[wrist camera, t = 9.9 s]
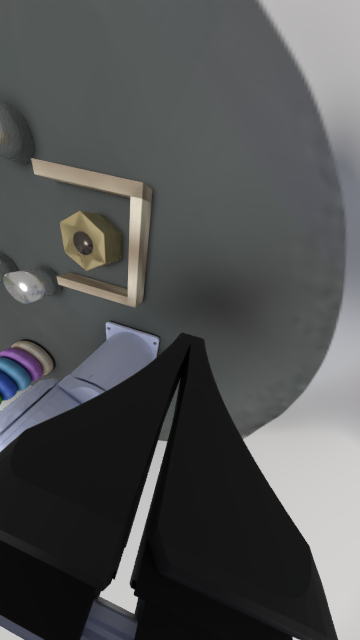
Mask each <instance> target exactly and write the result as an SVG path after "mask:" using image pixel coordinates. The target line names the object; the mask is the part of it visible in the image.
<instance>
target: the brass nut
mask: <svg viewBox="0 0 360 640" xmlns="http://www.w3.org/2000/svg"><path fill="white" fill-rule="evenodd" d="M60 226H61V232H62V238H63V244H64V249H65V253H67V254H68V255H69V256H70V257H71V258H72V259H73V260H75V261H76V262H77V263H78V264H79V265H80V266H81V267H83V268H84V269H85V270H86V271H87V270H91V269H95V268H99V267H102V266H106V265H108V264H111V263H114V262H116V261H119V260H122V234H121V233H120V232H119V231H118V230H117V229H116V228H115V227H114V226H113V225H112V224H111V223H110V222H109V221H108V220H107V219H106V218H105V217H104V216H103V215H100V214H94V213H88V212H83V211H79V212H77V213H75V214H74V215H72V216H70V217H68V218H67V219H65V220H63V221H61V222H60Z"/></svg>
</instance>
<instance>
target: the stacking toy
mask: <svg viewBox="0 0 360 640" xmlns="http://www.w3.org/2000/svg"><path fill="white" fill-rule="evenodd" d="M52 369H53V361H52V359H51V357H50V356H49V354H48V353H47V352H46V351H45V350H44V349H42V348H41V347H40V346H38V345H36V344H34V343H32V342H28V341H19V342H16V343H15V344H13V345H12V347H11V348H8V349H5V350H3V351H2V352H1V353H0V404H1V402H2V401H3V400H8V399H10V398H12V397H13V396H14V395H15V394H16V393H17V391H22V390H24V389H26V388H27V387H28V386H29V385H30V383H31V382H34V381H36V380H38V379H39V378H40V377H41V376H42V375H46V374H48V373H49V372H50V371H51V370H52Z"/></svg>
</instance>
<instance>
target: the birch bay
mask: <svg viewBox="0 0 360 640" xmlns="http://www.w3.org/2000/svg"><path fill="white" fill-rule="evenodd" d="M31 160H32V165H33V169H34V174H36V175H39V176H42V177H45V178H48V179H51V180H54V181H58V182H62V183H66V184H71V185H75V186H79V187H83V188H88V189H92V190H96V191H101V192H105V193H109V194H114V195H118V196H122V197H126V198H131V200H130V234H129V267H128V289H125V288H122V287H118V286H115V285H111V284H108V283H105V282H101V281H98V280H94V279H91V278H88V277H84V276H81V275H77V274H74V273H67V274H63V275H59V276H57V281H58V284H59V285H62V286H65V287H69V288H72V289H75V290H79V291H82V292H85V293H89V294H92V295H95V296H98V297H102V298H105V299H108V300H112V301H115V302H118V303H122V304H125V305H128V306H132V307H135V308H136V307H137V306H138V305H139V304H140V303H142V302H143V296H144V284H145V273H146V261H147V250H148V239H149V227H150V216H151V204H152V193H153V189H151V188H150V187H148V186H147V185H146V184H144V183H142V182H137V181H133V180H128V179H123V178H119V177H114V176H110V175H105V174H101V173H96V172H92V171H87V170H83V169H78V168H74V167H69V166H64V165H60V164H55V163H51V162H46V161H42V160H37V159H33V158H31Z"/></svg>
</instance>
